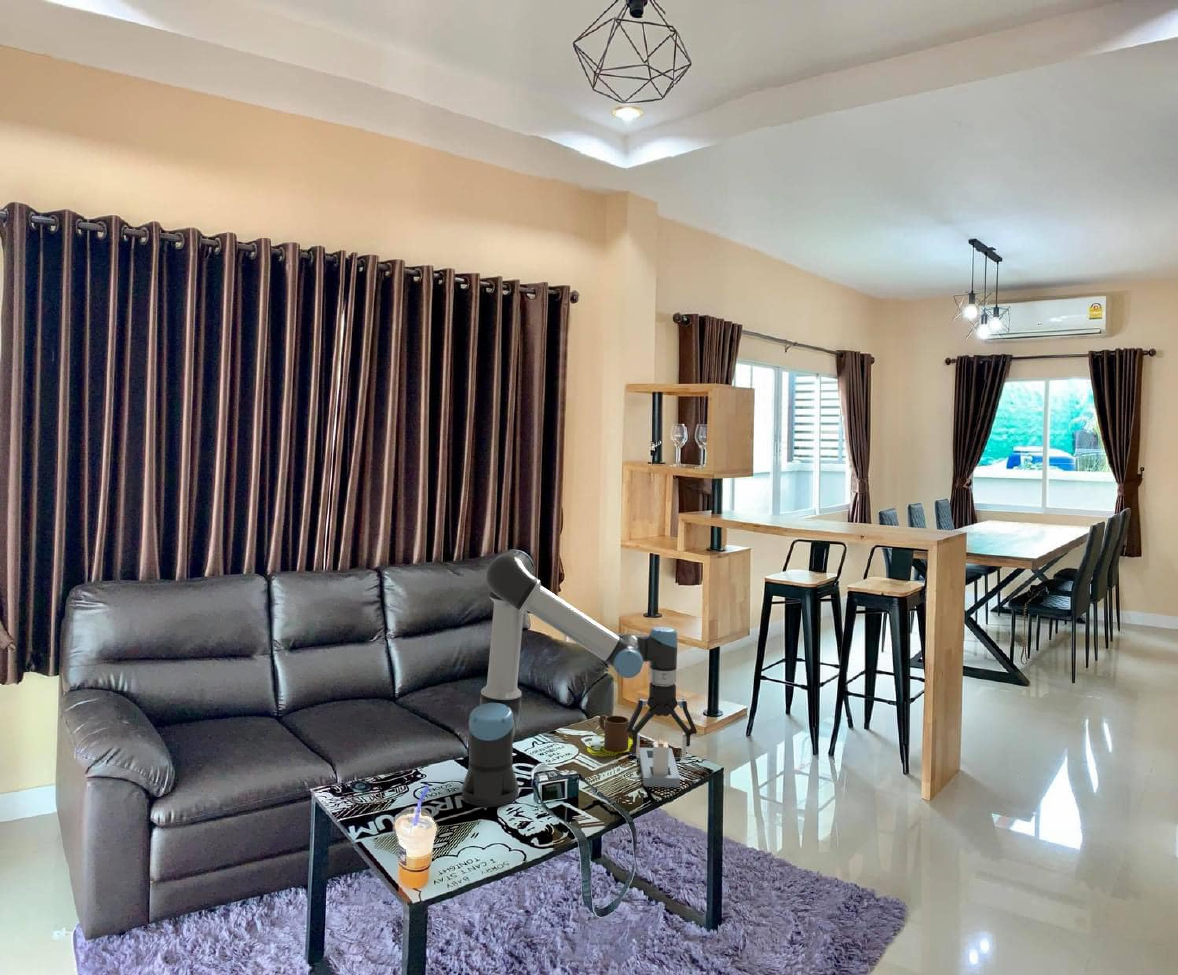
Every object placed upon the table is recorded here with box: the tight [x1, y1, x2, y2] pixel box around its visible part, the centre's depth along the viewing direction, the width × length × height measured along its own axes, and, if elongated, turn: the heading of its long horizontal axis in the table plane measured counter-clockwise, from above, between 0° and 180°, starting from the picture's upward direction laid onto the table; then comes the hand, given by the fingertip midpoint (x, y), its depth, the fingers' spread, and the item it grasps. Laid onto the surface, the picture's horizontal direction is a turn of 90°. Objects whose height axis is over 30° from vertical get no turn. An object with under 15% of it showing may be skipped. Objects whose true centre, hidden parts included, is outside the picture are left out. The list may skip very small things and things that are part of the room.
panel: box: [638, 747, 681, 788], centre depth 236 cm, size 10×22×3 cm, turn 0°
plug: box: [652, 739, 670, 775], centre depth 229 cm, size 4×4×11 cm
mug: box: [598, 714, 630, 753], centre depth 254 cm, size 12×8×9 cm, turn 39°
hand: (660, 756), depth 229 cm, fingers open, 12 cm apart
